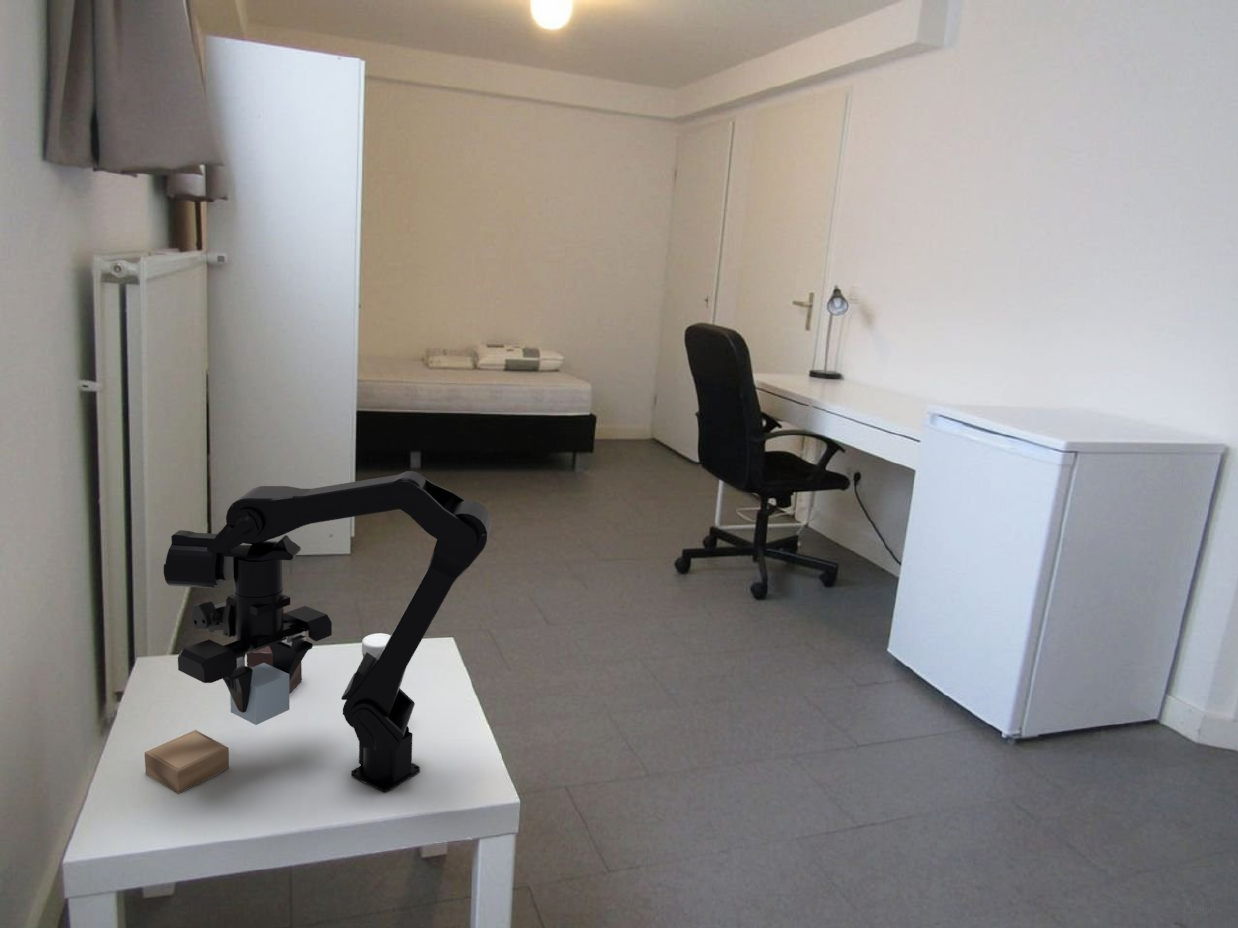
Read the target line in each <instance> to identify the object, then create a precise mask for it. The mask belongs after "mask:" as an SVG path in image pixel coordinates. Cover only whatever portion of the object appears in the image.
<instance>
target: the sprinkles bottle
mask: <svg viewBox="0 0 1238 928" xmlns="http://www.w3.org/2000/svg"><path fill="white" fill-rule="evenodd" d="M390 636H391V635H390V634H387V633H379V632H378V633H372V634H369V635H366V636H365V637H364V638H362V641H361V653H362V654H361V655H362V658H363V657H364V655H365V654H366V652H368V653H369V654H370V655H372V656H373V657H376V656H377V655H378V654H379V653H380V652H381V651H382V650H383V649H384V647H385V645H386V644H387V642H388V640H389V638H390Z"/></svg>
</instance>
